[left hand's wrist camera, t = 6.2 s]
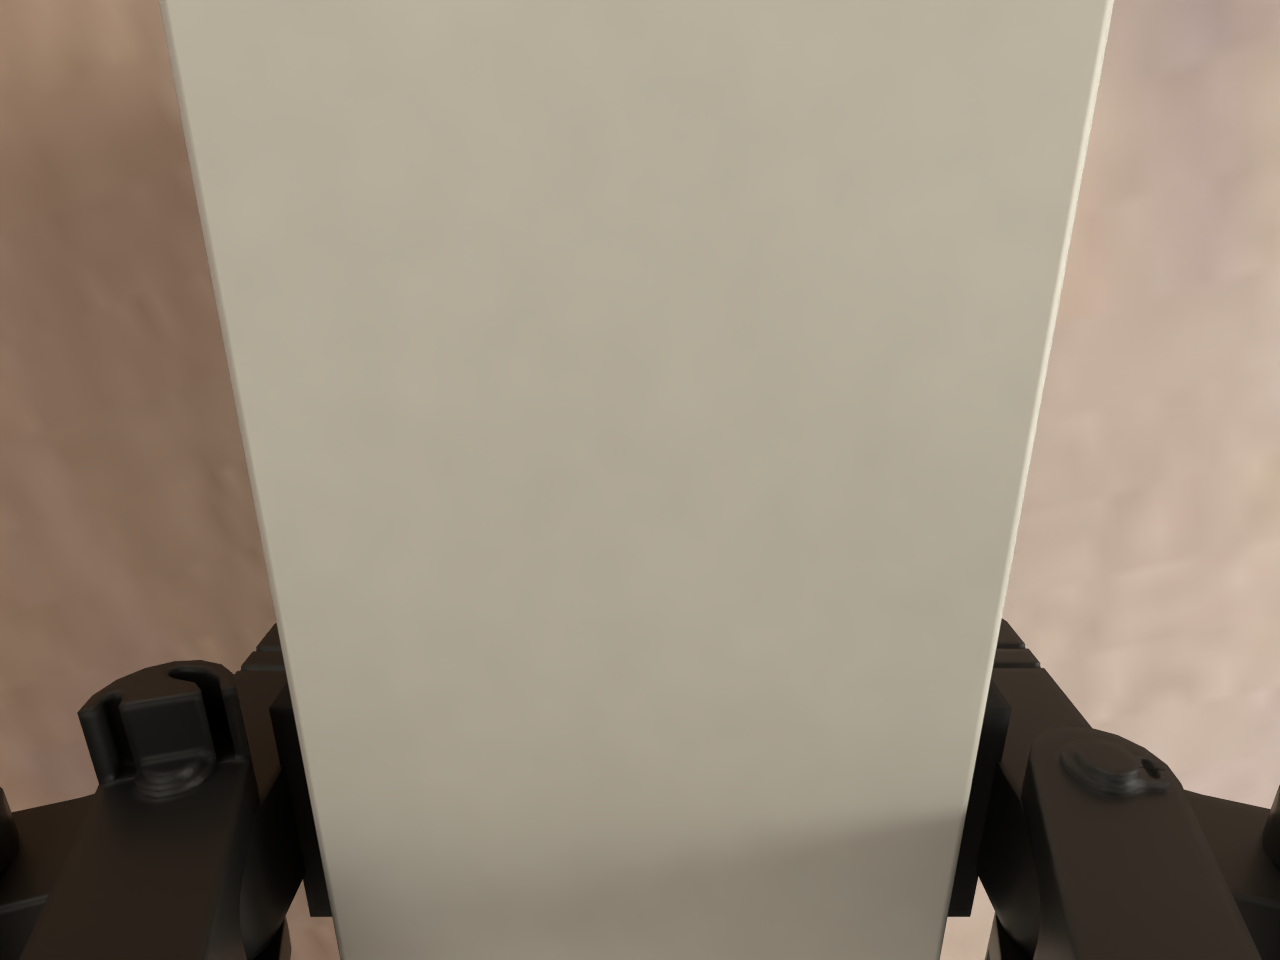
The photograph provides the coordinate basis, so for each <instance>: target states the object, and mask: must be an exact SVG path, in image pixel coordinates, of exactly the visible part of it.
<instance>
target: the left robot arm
mask: <svg viewBox="0 0 1280 960" xmlns="http://www.w3.org/2000/svg"><path fill="white" fill-rule="evenodd" d="M256 648H257V649H256V652H252V653H251V654H250V656H249V657H248V658H247V660H246V661H245V662H244V663H243V665H242V666H241V671H237V672H236V673H235V675H234V674H233V673H232V672H230V671H229V670H228V669H227V668H225V667H224V666H223V665H222V664H217V663H212V662H207V661H203V660H193V661H174V662H170V663H165V664H161V665H157V666H153V667H148V668H144V669H142V670H140V671H137V672H135V673H132V674H130V675H127V676H125V677H123V678H120V679H118V680H116V681H114V682H113V683H111V684H110V685H108V686H106V687H105V688H103V689H102V690H100V691H99V692H97V693H96V694H94V695H93V696H92V697H91V698H90V699H89V700H88V701H87V702H86V704H85V705H84V706H83V707H82V708H81V709H80V710H79V711H78V716H79V720H80V723H81V726H82V729H83V733H84V736H85V739H86V743H87V746H88V749H89V752H90V756H91V759H92V762H93V765H94V769H95V772H96V775H97V779H98V782H99V786H98V788H97V790H96V793H95V794H92V795H89V796H85V797H82V798H77V799H73V800H68V801H63V802H59V803H54V804H49V805H45V806H40V807H35V808H31V809H26V810H21V811H17V812H12V813H11V810H10V808H9V805H8V802H7V799H6V797H5V794H4V791H3V789H2V788H1V787H0V960H290V957H291V943H290V935H289V929H288V924H287V920H286V913H287V911H288V909H289V907H290V905H291V903H292V901H293V899H294V896H295V894H296V892H297V890H298V888H299V886H300V884H301V882H302V879H303V881H304V886H305V891H306V896H307V901H308V906H309V911H310V916H311V917H332V912H331V906H330V901H329V896H328V891H327V885H326V880H325V875H324V870H323V864H322V859H321V854H320V848H319V843H318V838H317V833H316V827H315V822H314V817H313V812H312V806H311V801H310V796H309V790H308V785H307V780H306V775H305V769H304V764H303V759H302V754H301V748H300V743H299V738H298V732H297V727H296V722H295V717H294V711H293V706H292V701H291V696H290V690H289V685H288V680H287V674H286V669H285V664H284V659H283V653H282V648H281V643H280V638H279V632H278V627H277V623H276V624H274V626H273V627H272V628H271V629H270V631H269V632H268V633H267V634H266V636H265V637H264V638H263V639H262V641H261V642H260V643H259V644H258V646H257V647H256ZM978 876H979V878H980V880H981V882H982V884H983V886H984V888H985V891H986V893H987V895H988V897H989V899H990V901H991V903H992V905H993V907H994V910H995V915H994V920H993V924H992V929H991V934H990V938H989V943H988V948H987V952H986V957H985V960H1280V785H1279V788H1278V791H1277V794H1276V797H1275V799H1274V802H1273V805H1272V808H1271V809H1267V808H1262V807H1257V806H1253V805H1248V804H1243V803H1239V802H1234V801H1229V800H1225V799H1220V798H1215V797H1211V796H1206V795H1201V794H1198V793H1194V792H1191V791H1187V790H1184V789H1183V787H1182V785H1181V783H1180V782H1179V780H1178V779H1177V777H1176V776H1175V775H1174V773H1173V772H1172V771H1171V769H1170V768H1169V767H1168V765H1167V764H1165V763H1164V762H1163V761H1161V760H1160V759H1159V758H1157V757H1156V756H1155V755H1153V754H1152V753H1151V752H1149V751H1148V750H1147V749H1145V748H1144V747H1141V746H1139V745H1137V744H1135V743H1133V742H1131V741H1129V740H1127V739H1125V738H1122V737H1120V736H1118V735H1115V734H1111V733H1108V732H1104V731H1100V730H1096V729H1093V728H1092V727H1091V726H1090V725H1089V724H1088V722H1087V721H1086V720H1085V719H1084V717H1083V716H1082V715H1081V714H1080V712H1079V711H1078V710H1077V709H1076V707H1075V706H1074V705H1073V704H1072V702H1071V701H1070V700H1069V699H1068V697H1067V696H1066V695H1065V694H1064V692H1063V691H1062V690H1061V689H1060V687H1059V686H1058V685H1057V684H1056V682H1055V681H1054V680H1053V679H1052V677H1051V676H1050V675H1049V674H1048V672H1047V671H1046V670H1045V669H1044V668H1040V662H1039V661H1038V660H1037V659H1036V657H1035V656H1034V655H1033V654H1032V652H1031V651H1030V650H1029V649H1025V644H1024V642H1023V641H1022V640H1021V639H1020V637H1019V636H1018V635H1017V634H1016V632H1015V631H1014V630H1013V629H1012V627H1011V626H1010V625H1009V624H1008V622H1007V621H1005V620H1004V619H1001V625H1000V630H999V636H998V641H997V647H996V652H995V658H994V663H993V669H992V674H991V680H990V685H989V691H988V696H987V702H986V707H985V713H984V718H983V724H982V729H981V735H980V740H979V746H978V751H977V757H976V762H975V768H974V773H973V778H972V784H971V789H970V795H969V800H968V806H967V811H966V817H965V822H964V828H963V833H962V839H961V844H960V850H959V855H958V861H957V866H956V872H955V877H954V883H953V888H952V894H951V899H950V905H949V910H948V916H947V917H970V915H971V910H972V905H973V900H974V895H975V890H976V885H977V880H978Z"/></svg>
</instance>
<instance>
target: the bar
mask: <svg viewBox="0 0 1280 960" xmlns="http://www.w3.org/2000/svg"><path fill="white" fill-rule="evenodd" d="M159 5H160V10H161V15H162V21H163V26H164V31H165V37H166V42H167V47H168V52H169V58H170V63H171V68H172V73H173V79H174V84H175V89H176V95H177V100H178V105H179V110H180V116H181V121H182V126H183V131H184V137H185V142H186V147H187V153H188V158H189V163H190V168H191V174H192V179H193V184H194V189H195V195H196V200H197V205H198V211H199V216H200V221H201V226H202V232H203V237H204V242H205V247H206V253H207V258H208V263H209V269H210V274H211V279H212V284H213V290H214V295H215V300H216V305H217V311H218V316H219V321H220V327H221V332H222V337H223V342H224V348H225V353H226V358H227V363H228V369H229V374H230V379H231V385H232V390H233V395H234V400H235V406H236V411H237V416H238V421H239V427H240V432H241V437H242V443H243V448H244V453H245V458H246V464H247V469H248V474H249V479H250V485H251V490H252V495H253V500H254V506H255V511H256V516H257V522H258V527H259V532H260V537H261V543H262V548H263V553H264V558H265V564H266V569H267V574H268V580H269V585H270V590H271V595H272V601H273V606H274V611H275V616H276V622H277V627H278V632H279V638H280V643H281V648H282V653H283V659H284V664H285V669H286V674H287V680H288V685H289V690H290V696H291V701H292V706H293V711H294V717H295V722H296V727H297V732H298V738H299V743H300V748H301V754H302V759H303V764H304V769H305V775H306V780H307V785H308V790H309V796H310V801H311V806H312V812H313V817H314V822H315V827H316V833H317V838H318V843H319V848H320V854H321V859H322V864H323V870H324V875H325V880H326V885H327V891H328V896H329V901H330V906H331V912H332V917H333V922H334V928H335V933H336V938H337V943H338V949H339V954H340V959H341V960H940V954H941V949H942V943H943V938H944V932H945V927H946V921H947V916H948V910H949V905H950V899H951V894H952V888H953V883H954V877H955V872H956V866H957V861H958V855H959V850H960V844H961V839H962V833H963V828H964V822H965V817H966V811H967V806H968V800H969V795H970V789H971V784H972V778H973V773H974V768H975V762H976V757H977V751H978V746H979V740H980V735H981V729H982V724H983V718H984V713H985V707H986V702H987V696H988V691H989V685H990V680H991V674H992V669H993V663H994V658H995V652H996V647H997V641H998V636H999V630H1000V625H1001V619H1002V614H1003V608H1004V603H1005V597H1006V592H1007V586H1008V581H1009V575H1010V570H1011V564H1012V559H1013V553H1014V548H1015V542H1016V537H1017V531H1018V526H1019V521H1020V515H1021V510H1022V504H1023V499H1024V493H1025V488H1026V482H1027V477H1028V471H1029V466H1030V460H1031V455H1032V449H1033V444H1034V438H1035V433H1036V427H1037V422H1038V416H1039V411H1040V405H1041V400H1042V394H1043V389H1044V383H1045V378H1046V372H1047V367H1048V361H1049V356H1050V350H1051V345H1052V339H1053V334H1054V328H1055V323H1056V317H1057V312H1058V306H1059V301H1060V295H1061V290H1062V285H1063V279H1064V274H1065V268H1066V263H1067V257H1068V252H1069V246H1070V241H1071V235H1072V230H1073V224H1074V219H1075V213H1076V208H1077V202H1078V197H1079V191H1080V186H1081V180H1082V175H1083V169H1084V164H1085V158H1086V153H1087V147H1088V142H1089V136H1090V131H1091V125H1092V120H1093V114H1094V109H1095V103H1096V98H1097V92H1098V87H1099V81H1100V76H1101V70H1102V65H1103V59H1104V54H1105V48H1106V43H1107V38H1108V32H1109V27H1110V21H1111V16H1112V10H1113V5H1114V0H159Z"/></svg>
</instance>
